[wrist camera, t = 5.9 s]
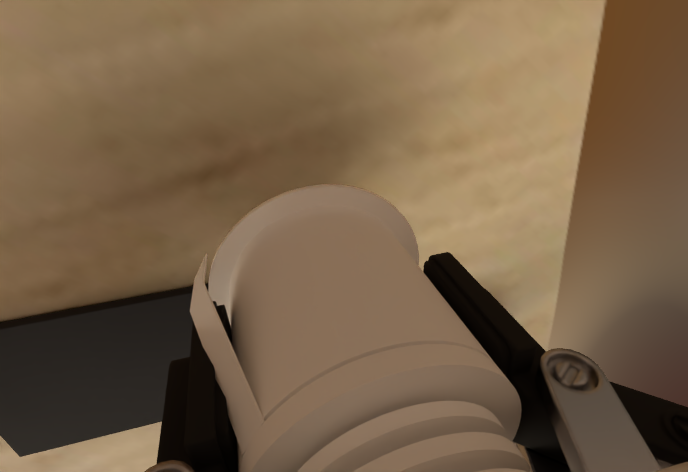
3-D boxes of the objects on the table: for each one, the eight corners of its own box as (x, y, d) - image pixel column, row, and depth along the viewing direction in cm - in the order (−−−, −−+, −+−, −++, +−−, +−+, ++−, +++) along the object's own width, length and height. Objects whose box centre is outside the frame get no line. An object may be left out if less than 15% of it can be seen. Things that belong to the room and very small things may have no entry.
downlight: (459, 229, 14) (828, 564, 5) (362, 366, 16) (519, 748, 8) (247, 133, 10) (400, 731, 2) (160, 330, 12) (52, 989, 4)
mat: (23, 448, 24) (19, 457, 24) (-76, 336, 19) (-84, 345, 18) (358, 365, 28) (360, 371, 28) (355, 255, 23) (358, 261, 23)
